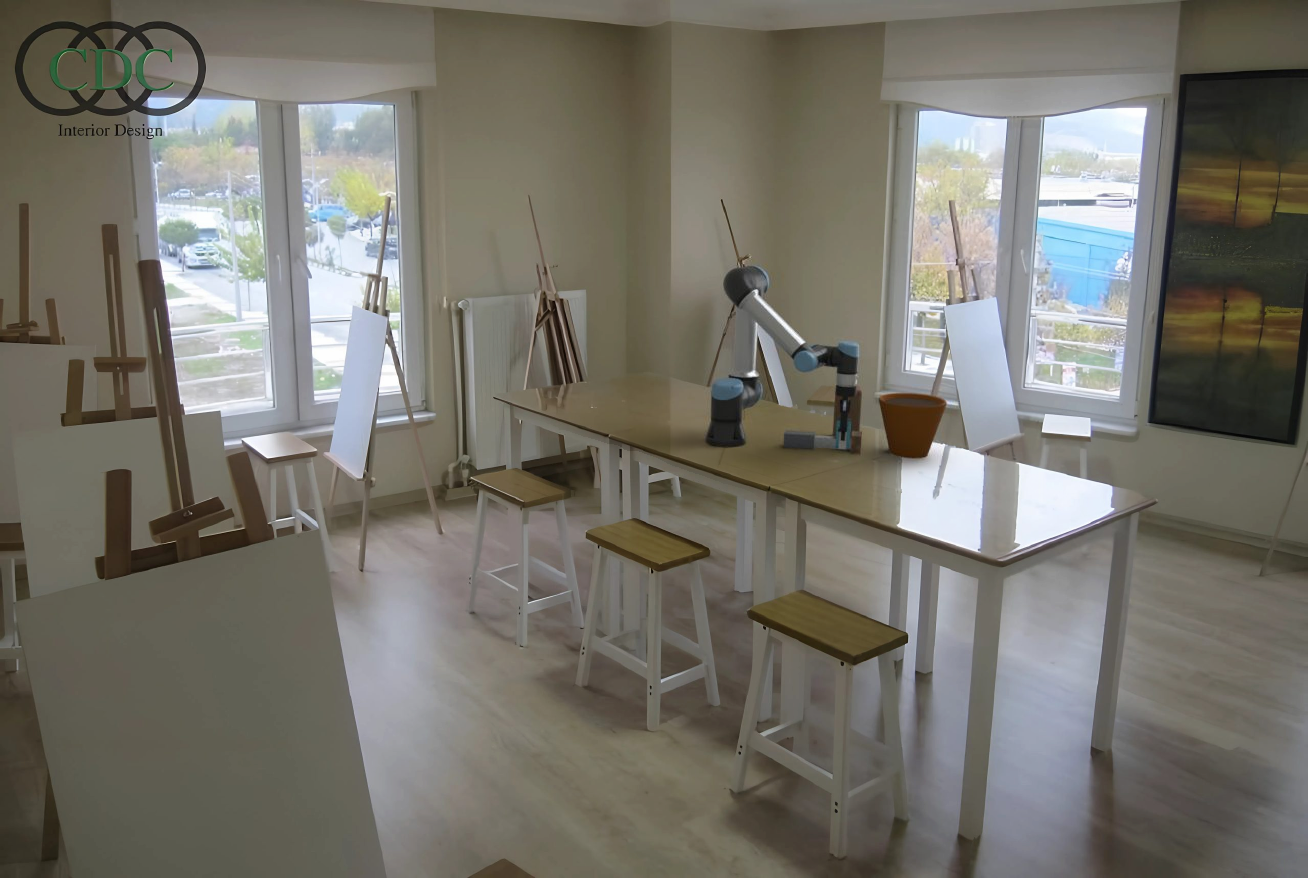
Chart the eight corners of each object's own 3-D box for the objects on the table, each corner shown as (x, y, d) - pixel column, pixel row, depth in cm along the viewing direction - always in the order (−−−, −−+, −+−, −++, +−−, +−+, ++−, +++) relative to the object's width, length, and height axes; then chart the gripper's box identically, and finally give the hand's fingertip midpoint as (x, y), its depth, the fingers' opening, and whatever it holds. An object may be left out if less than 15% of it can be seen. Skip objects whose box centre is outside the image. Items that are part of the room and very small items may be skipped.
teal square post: (806, 446, 385) (807, 418, 383) (807, 443, 390) (808, 416, 387) (858, 450, 381) (860, 422, 379) (859, 447, 386) (860, 419, 383)
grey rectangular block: (783, 447, 387) (784, 433, 385) (784, 444, 392) (785, 430, 391) (813, 449, 384) (814, 435, 383) (814, 446, 390) (815, 431, 388)
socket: (850, 453, 381) (851, 435, 379) (851, 447, 388) (852, 430, 387) (860, 454, 380) (861, 436, 378) (860, 448, 387) (862, 431, 386)
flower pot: (953, 460, 373) (958, 405, 368) (889, 462, 369) (893, 407, 364) (925, 444, 396) (930, 392, 391) (865, 445, 392) (869, 393, 387)
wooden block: (858, 442, 397) (862, 390, 392) (832, 440, 399) (835, 388, 394) (859, 435, 407) (862, 385, 402) (833, 434, 409) (836, 384, 404)
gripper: (856, 389, 370) (852, 453, 376) (857, 380, 387) (853, 442, 392) (834, 388, 371) (830, 452, 377) (836, 379, 388) (833, 440, 394)
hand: (842, 446), depth 385 cm, fingers closed on teal square post, 4 cm apart
